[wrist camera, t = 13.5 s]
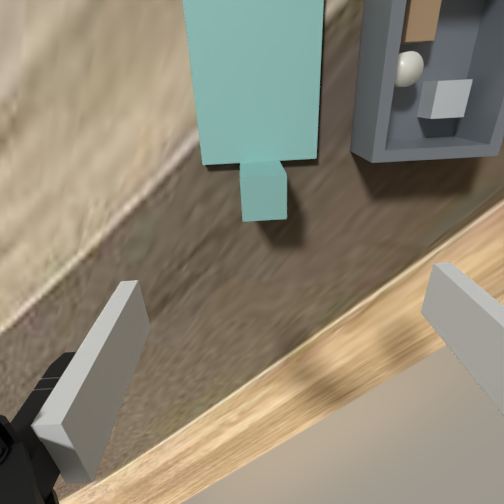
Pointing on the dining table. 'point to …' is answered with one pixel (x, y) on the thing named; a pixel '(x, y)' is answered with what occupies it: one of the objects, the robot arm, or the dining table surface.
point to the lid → (256, 90)
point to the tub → (429, 80)
